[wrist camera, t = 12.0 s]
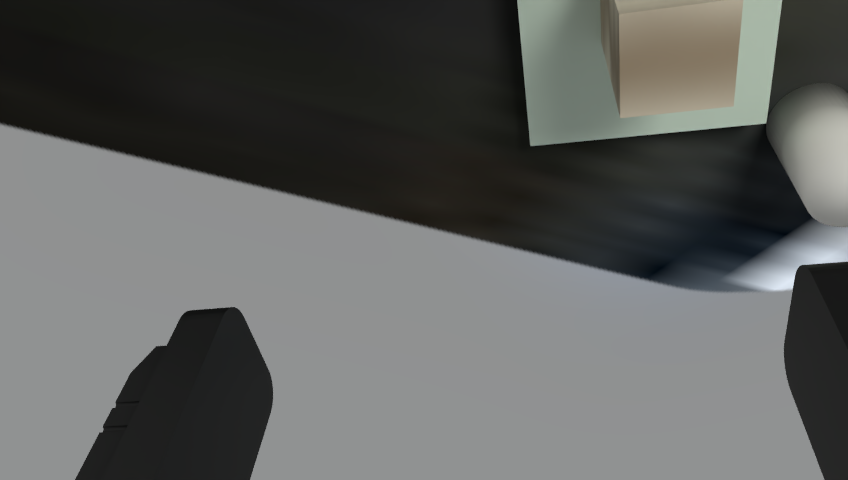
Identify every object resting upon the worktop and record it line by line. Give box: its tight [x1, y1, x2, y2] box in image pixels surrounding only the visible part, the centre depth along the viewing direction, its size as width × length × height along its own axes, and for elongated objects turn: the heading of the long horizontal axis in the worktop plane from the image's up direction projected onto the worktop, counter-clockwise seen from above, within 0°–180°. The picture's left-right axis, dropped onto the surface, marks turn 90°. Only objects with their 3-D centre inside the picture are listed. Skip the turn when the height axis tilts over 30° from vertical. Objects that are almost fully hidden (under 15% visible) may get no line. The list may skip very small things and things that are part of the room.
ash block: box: [600, 0, 743, 118], centre depth 29 cm, size 4×4×7 cm
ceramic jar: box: [766, 83, 848, 227], centre depth 34 cm, size 4×4×6 cm
